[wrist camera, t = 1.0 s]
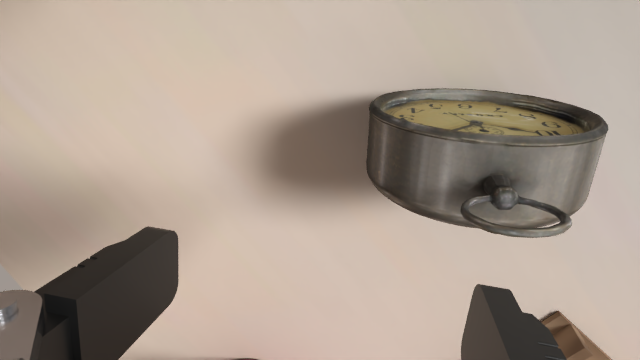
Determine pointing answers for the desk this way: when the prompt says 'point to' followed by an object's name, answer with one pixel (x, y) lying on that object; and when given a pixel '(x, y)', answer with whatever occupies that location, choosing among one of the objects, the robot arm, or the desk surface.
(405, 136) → the alarm clock
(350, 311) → the desk surface
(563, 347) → the walnut chute
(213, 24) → the desk surface
